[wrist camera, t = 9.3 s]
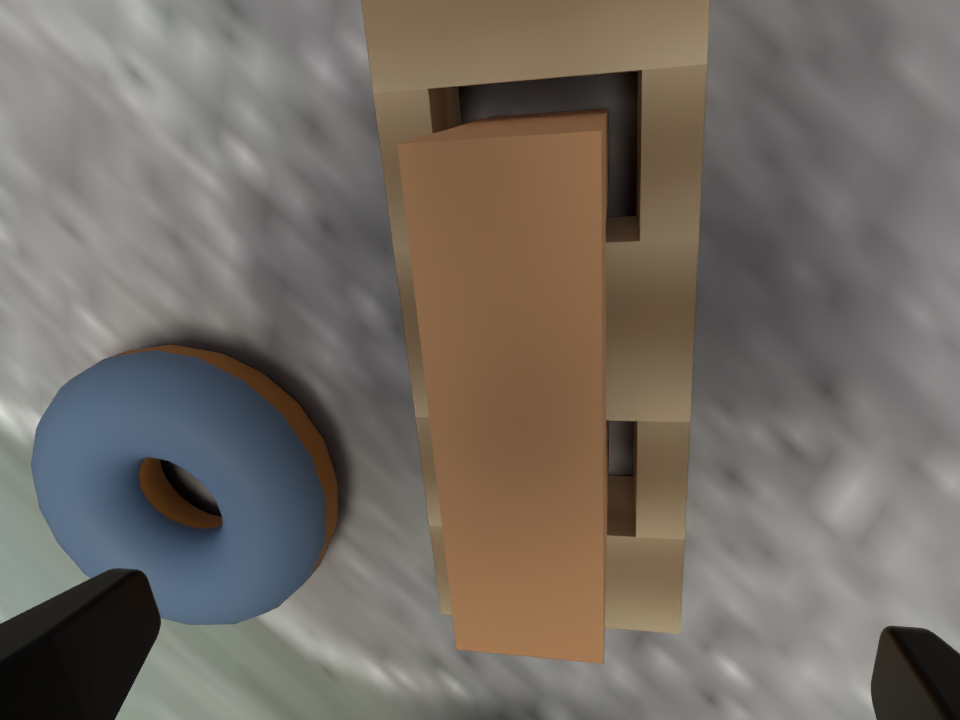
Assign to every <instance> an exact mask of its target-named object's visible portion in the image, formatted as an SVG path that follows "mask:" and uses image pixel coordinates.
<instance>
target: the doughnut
mask: <svg viewBox="0 0 960 720" xmlns="http://www.w3.org/2000/svg"><path fill="white" fill-rule="evenodd" d="M160 459H161V460H166V461H169V462H171V463H174V464H176V465H178V466H180V467H182V468H184V469H185V470H186V471H187V472H189V473H190V474H191V475H192V476H193V477H195V478H196V479H197V480H198V481H200V482H201V483H202V484H203V485H204V486H205V487H206V489H207V490H208V491H209V493H210V494H211V495H212V497H213V498H214V499H215V500H216V503H217V505H218V508H219V510H220V512H221V515H222V517H221V516H217V515H212V514H209V513H206V512H204V511H202V510H200V509H198V508H196V507H194V506H193V505H192V504H190V503H189V502H188V501H187V500H186V499H184V498H183V497H182V496H181V495H179V494H178V493H177V491H176V490H175V489H174V488H173V486H172V485H171V484H170V482H169V481H168V480H167V479H166V477H165V474H164V472H163V470H162V467H161V461H160ZM31 467H32V475H33V479H34V484H35V489H36V493H37V498H38V503H39V508H40V510H41V512H42V514H43V516H44V518H45V520H46V522H47V524H48V525H49V527H50V529H51V531H52V533H53V535H54V537H55V539H56V541H57V543H58V544H59V545H60V546H61V547H62V548H63V550H64V551H65V552H66V553H67V554H68V555H69V557H70V558H71V559H72V560H73V561H74V562H75V564H76V565H77V566H78V567H79V568H80V569H81V571H82V572H83V573H84V574H85V575H87V576H88V577H89V578H93V577H95V576H97V575H99V574H101V573H103V572H105V571H107V570H109V569H113V568H124V569H137V570H140V571H142V572H143V573H144V574H146V576H147V578H148V580H149V583H150V586H151V589H152V592H153V595H154V598H155V601H156V604H157V607H158V610H159V613H160V617H161V618H163V619H167V620H172V621H176V622H180V623H184V624H188V625H211V624H236V623H239V622H241V621H244V620H247V619H250V618H253V617H255V616H258V615H261V614H264V613H267V612H269V611H271V610H273V609H275V608H277V607H279V606H280V605H281V604H282V603H283V602H284V601H285V600H286V599H287V598H289V597H290V596H291V595H292V594H293V593H294V592H295V591H296V590H297V589H299V588H300V587H301V586H302V585H303V584H304V583H305V582H306V581H307V579H308V578H309V577H310V576H311V575H312V573H313V572H314V571H315V570H316V569H317V568H318V567H319V566H320V564H321V562H322V559H323V557H324V555H325V552H326V550H327V548H328V545H329V543H330V541H331V539H332V536H333V534H334V531H335V528H336V526H337V505H338V484H337V478H336V475H335V472H334V469H333V466H332V463H331V460H330V457H329V454H328V451H327V448H326V445H325V442H324V439H323V438H322V437H321V435H320V434H319V432H318V431H317V429H316V428H315V426H314V425H313V423H312V422H311V421H310V419H309V418H308V416H307V415H306V413H305V412H304V410H303V409H302V407H301V406H300V405H299V403H297V402H296V401H295V400H294V399H293V398H292V397H290V396H289V395H288V394H287V393H286V392H285V391H283V390H282V389H281V388H280V387H279V386H278V385H276V384H275V383H274V382H273V381H272V380H271V379H270V378H268V377H267V376H266V375H265V374H263V373H261V372H259V371H257V370H255V369H253V368H251V367H249V366H247V365H245V364H243V363H241V362H239V361H237V360H235V359H233V358H231V357H229V356H227V355H225V354H222V353H217V352H211V351H206V350H200V349H195V348H189V347H184V346H178V345H171V344H170V345H163V346H157V347H150V348H143V349H136V350H130V351H127V352H124V353H120V354H118V355H116V356H113V357H110V358H107V359H104V360H102V361H100V362H99V363H97V364H95V365H94V366H92V367H90V368H89V369H87V370H85V371H84V372H82V373H80V374H79V375H77V376H76V377H74V378H72V379H71V380H70V381H68V382H67V383H66V384H65V385H64V386H62V387H61V388H60V390H59V391H58V393H57V394H56V396H55V397H54V399H53V401H52V402H51V404H50V405H49V407H48V408H47V410H46V411H45V413H44V415H43V416H42V418H41V420H40V422H39V424H38V426H37V428H36V434H35V441H34V448H33V455H32V462H31Z"/></svg>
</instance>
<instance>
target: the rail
mask: <svg viewBox="0 0 960 720" xmlns="http://www.w3.org/2000/svg"><path fill="white" fill-rule="evenodd" d="M361 3H362V11H363V19H364V26H365V34H366V42H367V49H368V57H369V65H370V72H371V80H372V88H373V96H374V103H375V111H376V119H377V126H378V134H379V142H380V149H381V157H382V165H383V172H384V180H385V188H386V195H387V203H388V211H389V219H390V226H391V234H392V242H393V249H394V257H395V265H396V272H397V280H398V288H399V295H400V303H401V311H402V318H403V326H404V334H405V342H406V349H407V357H408V365H409V372H410V380H411V388H412V395H413V403H414V411H415V418H416V426H417V434H418V441H419V449H420V457H421V464H422V472H423V480H424V488H425V495H426V503H427V511H428V518H429V526H430V534H431V541H432V549H433V557H434V564H435V572H436V580H437V587H438V595H439V603H440V611H441V614H445V615H452V608H451V599H450V591H449V582H448V573H447V565H446V556H445V548H444V539H443V531H442V522H441V514H440V505H439V496H438V488H437V479H436V471H435V462H434V454H433V445H432V437H431V428H430V419H429V411H428V402H427V394H426V385H425V377H424V368H423V360H422V351H421V342H420V334H419V325H418V317H417V308H416V300H415V291H414V283H413V274H412V265H411V257H410V248H409V240H408V231H407V223H406V214H405V206H404V197H403V188H402V180H401V171H400V163H399V154H398V146H397V144H399V143H403V142H406V141H409V140H413V139H416V138H420V137H423V136H427V135H430V134H433V133H437V132H440V131H444V130H447V129H450V128H454V127H457V126H461V113H460V102H459V90H458V87H466V86H477V85H489V84H500V83H512V82H523V81H535V80H546V79H558V78H569V77H581V76H592V75H604V74H615V73H627V72H638V119H637V209H636V216H627V217H606V421H634V476H618V475H608V508H607V549H606V590H605V628H616V629H628V630H640V631H652V632H664V633H677V634H680V626H681V605H682V584H683V563H684V542H685V521H686V500H687V479H688V457H689V436H690V415H691V394H692V373H693V352H694V331H695V310H696V288H697V267H698V246H699V225H700V204H701V183H702V162H703V141H704V120H705V98H706V77H707V56H708V35H709V14H710V0H361Z"/></svg>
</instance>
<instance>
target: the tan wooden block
mask: <svg viewBox="0 0 960 720" xmlns="http://www.w3.org/2000/svg"><path fill="white" fill-rule="evenodd" d="M397 146H398V154H399V163H400V171H401V180H402V188H403V197H404V206H405V214H406V223H407V231H408V240H409V248H410V257H411V265H412V274H413V283H414V291H415V300H416V308H417V317H418V325H419V334H420V342H421V351H422V360H423V368H424V377H425V385H426V394H427V402H428V411H429V419H430V428H431V437H432V445H433V454H434V462H435V471H436V479H437V488H438V496H439V505H440V514H441V522H442V531H443V539H444V548H445V556H446V565H447V573H448V582H449V591H450V599H451V608H452V616H453V625H454V633H455V642H456V650H467V651H477V652H488V653H498V654H508V655H519V656H529V657H539V658H550V659H560V660H570V661H581V662H591V663H602V664H604V632H605V590H606V549H607V508H608V466H609V421H606V214H607V202H608V190H609V124H608V108H604V109H590V110H576V111H563V112H549V113H535V114H521V115H508V116H494V117H488V118H485V119H481V120H478V121H474V122H471V123H468V124H464V125H461V126H457V127H454V128H450V129H447V130H444V131H440V132H437V133H433V134H430V135H427V136H423V137H420V138H416V139H413V140H409V141H406V142H403V143H399V144H397Z"/></svg>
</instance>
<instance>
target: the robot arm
mask: <svg viewBox="0 0 960 720" xmlns="http://www.w3.org/2000/svg"><path fill="white" fill-rule="evenodd" d="M160 625H161V617H160V613H159V610H158V607H157V604H156V601H155V598H154V595H153V592H152V589H151V586H150V583H149V580H148V578H147V576H146V574H144V573H143V572H142V571H140V570H137V569H124V568H113V569H109V570H107V571H105V572H103V573H101V574H99V575H97V576H95V577H93V578H91V579H89V580H87V581H85V582H83V583H81V584H79V585H77V586H75V587H73V588H71V589H69V590H67V591H65V592H63V593H61V594H59V595H57V596H55V597H53V598H51V599H49V600H47V601H45V602H43V603H41V604H39V605H37V606H35V607H33V608H31V609H29V610H27V611H25V612H23V613H21V614H19V615H17V616H15V617H13V618H11V619H9V620H7V621H5V622H3V623H1V624H0V720H115V718H116V716H117V714H118V712H119V710H120V708H121V706H122V704H123V702H124V700H125V699H126V697H127V695H128V693H129V691H130V689H131V687H132V685H133V683H134V681H135V679H136V677H137V675H138V673H139V671H140V669H141V667H142V665H143V664H144V662H145V660H146V658H147V656H148V654H149V652H150V650H151V648H152V646H153V644H154V642H155V640H156V638H157V636H158V634H159V630H160ZM871 696H872V703H873V707H874V711H875V715H876V719H877V720H960V653H958V652H957V651H956V650H955V649H953V648H952V647H951V646H950V645H948V644H947V643H946V642H945V641H943V640H942V639H941V638H940V637H938V636H937V635H936V634H934V633H933V632H931V631H929V630H927V629H923V628H914V627H901V626H888V627H886V628H884V629H883V631H882V633H881V635H880V639H879V644H878V649H877V654H876V659H875V665H874V670H873V675H872V680H871Z"/></svg>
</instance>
